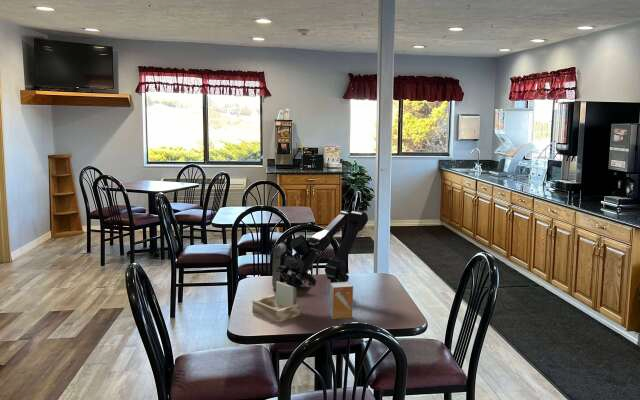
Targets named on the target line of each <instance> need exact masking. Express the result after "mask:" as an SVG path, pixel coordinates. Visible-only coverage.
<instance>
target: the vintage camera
mask: <svg viewBox="0 0 640 400" xmlns="http://www.w3.org/2000/svg"><path fill="white" fill-rule="evenodd" d="M272 250H273V251H272V273H271V274H272V275H271V276H272V277H271V279H272V280H271V281H272V282H271V284H272V288H274V289H276V282H277V281H278V282H281V283H287V278H285V277H283V276H282V275H281V273H280V272H279V271H278V270H277V269H278V268H279V266H284V263H285V260H286V258H288V259H292V260H296V259H297V258H296V257H293V256H290V255H287V245H286V243H285V242H283V241H281V242H280V243H279V244H277V245H275V247H274V248H273V249H272ZM299 256H300V257H301V256H302V255H299ZM300 257H299V258H300ZM285 267H288V266H285ZM288 268H289V270H290V271H292V270H291V269H290V267H288ZM306 283H307V281H304V283H303V284H304V285H303V287H306V285H305V284H306Z"/></svg>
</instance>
